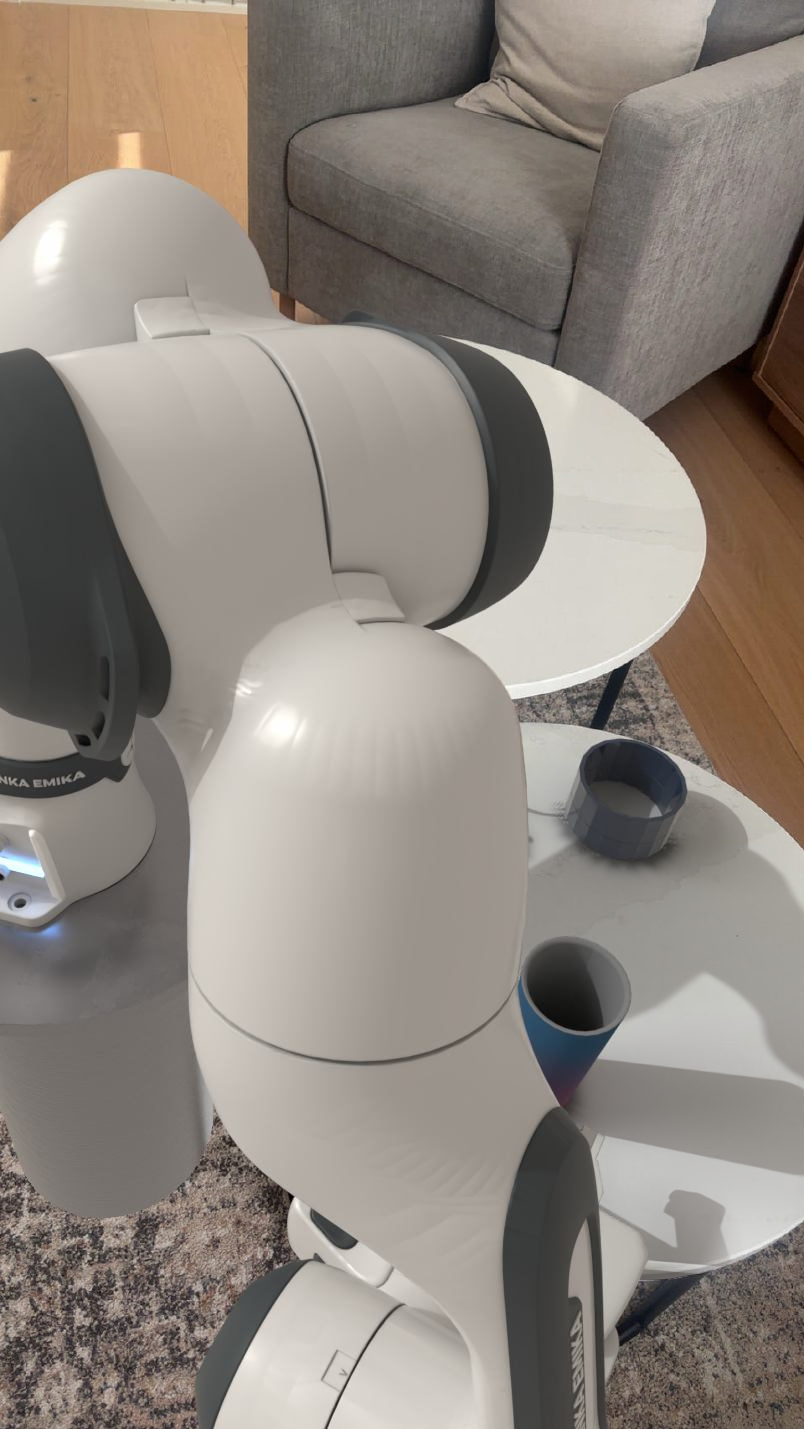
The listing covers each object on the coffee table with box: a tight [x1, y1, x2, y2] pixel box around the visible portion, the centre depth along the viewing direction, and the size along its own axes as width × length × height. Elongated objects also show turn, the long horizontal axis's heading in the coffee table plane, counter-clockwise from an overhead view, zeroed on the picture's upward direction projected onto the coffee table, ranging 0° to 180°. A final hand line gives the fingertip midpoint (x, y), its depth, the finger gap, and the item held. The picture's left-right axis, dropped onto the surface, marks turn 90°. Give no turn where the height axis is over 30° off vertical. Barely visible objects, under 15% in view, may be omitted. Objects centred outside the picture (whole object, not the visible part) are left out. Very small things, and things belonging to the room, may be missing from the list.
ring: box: [565, 738, 688, 862], centre depth 93 cm, size 9×9×6 cm
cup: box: [518, 935, 632, 1109], centre depth 72 cm, size 7×7×15 cm
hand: (523, 1095), depth 68 cm, fingers open, 8 cm apart
